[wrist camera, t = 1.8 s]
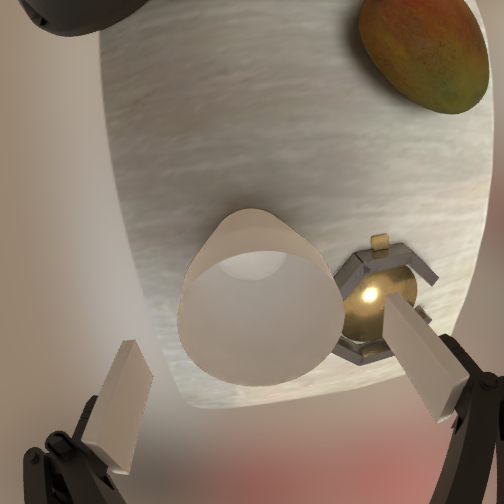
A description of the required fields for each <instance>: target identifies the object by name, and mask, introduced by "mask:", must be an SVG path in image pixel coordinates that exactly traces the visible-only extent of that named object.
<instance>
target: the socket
mask: <svg viewBox="0 0 504 504" xmlns="http://www.w3.org/2000/svg"><path fill="white" fill-rule="evenodd" d="M406 264H408V265H409V266H410V267H411V268H413V269H414V270H415V271H416V272H417V273H418V274H419V275H420V276H421V277H422V278H423V279H424V280H425V281H426V282H427V283H429V284H430V285H431V286H433V285H434V284H435V282H436V281H437V280H438V278H439V277H438V276H437V275H436V274H435V273H434V272H433V271H432V270H431V269H430V268H429V267H428V266H427V265H426V264H425V263H424V262H423V261H422V260H421V259H420V258H419V257H418V256H417V255H416V254H415V253H414V252H413V251H412V250H411V249H409V248H408V247H407V246H406V245H404V244H403V243H399V244H394V245H389V236H388V235H387V234H384V235H379V236H374V237H372V249H370V250H365V251H360V252H355V254H354V253H353V255H352V256H351V257H350V258H349V260H348V261H347V262H346V263H345V264H344V266H343V267H342V268H341V269H340V271H339V272H338V273H337V274H336V275H335V277H334V278H333V279H334V281H335V283H336V285H337V287H338V289H339V291H340V293H341V296H342V299H343V302H344V309H345V319H344V325H343V330H342V334H343V335H344V336H345V337H347V338H349V339H351V340H354V341H360V342H367V341H371V342H368V343H364V344H360V345H356V344H355V343H353V342H351V341H349V340H347V339H346V338H344V337H342V336H340V338H339V340H338V342H337V344H336V345H335V347H334V349H333V350H332V351H331V353H333V354H335V355H337V356H340V357H342V358H344V359H346V360H348V361H350V362H352V363H354V364H356V365H358V366H359V365H360V366H361V365H365V364H368V363H372V362H375V361H379V360H382V359H385V358H388V357H392V356H395V355H394V353H393V352H392V350H391V349H390V347H389V346H388V344H387V343H386V341H385V339H384V338H382V337H383V336H382V334H383V324H384V311H385V295H387V294H391V293H395V292H399V293H400V294H401V295H402V296H403V298H404V299H405V300H406V301H407V302H408V303H409V304H410V305H411V306H412V307H413V306H414V304H415V301H416V296H417V283H416V279H415V276H414V274H413V273H412V271H411V270H410V269H409V268H408V267H407V266H405V265H406ZM415 311H416V312H417V313H418V314H419V315H420V316H421V317H422V318H423V320H424V321H425V322H426V323H427V324H429V323H430V322H431V321H432V319H431V318H430V317H429V316H428V315H427V314H426V312H425V311H424V310H423V309H422V308H420V307H419V306H417V308H416V309H415ZM380 338H382V339H380ZM377 339H378V340H377ZM373 340H375V341H373Z"/></svg>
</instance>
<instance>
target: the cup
mask: <svg viewBox="0 0 504 504" xmlns="http://www.w3.org/2000/svg"><path fill="white" fill-rule="evenodd" d="M344 319H345V309H344V302H343V299H342V296H341V293H340V291H339V289H338V287H337V285H336V283H335V281H334V279H333V276H332V274H331V272H330V270H329V268H328V265H327V263H326V262H325V260H324V258H323V257H322V256H321V254H320V253H319V252H318V251H317V250H316V249H315V248H314V247H313V245H311V244H310V243H309V242H308V241H307V240H305V239H304V238H303V237H302V236H300V235H299V234H298V233H296V232H295V231H294V230H293V229H291V228H290V227H289V226H287V225H286V224H285V223H283V222H282V221H281V220H279V219H278V218H277V217H275V216H274V215H272V214H271V213H269V212H266V211H264V210H260V209H243V210H239V211H236V212H234V213H232V214H230V215H229V216H227V217H226V218H225V219H224V220H223V221H222V222H221V223H220V224H219V225H218V227H217V228H216V229H215V231H214V232H213V233H212V235H211V236H210V237H209V239H208V240H207V241H206V243H205V244H204V245H203V247H202V248H201V249H200V251H199V252H198V254H197V255H196V256H195V258H194V259H193V261H192V262H191V264H190V266H189V268H188V270H187V273H186V275H185V278H184V282H183V287H182V296H181V301H180V306H179V311H178V318H177V327H178V334H179V337H180V341H181V343H182V346H183V347H184V349H185V351H186V353H187V354H188V356H189V357H190V358H191V359H192V360H193V362H194V363H195V364H197V365H198V366H199V367H200V368H201V369H202V370H204V371H205V372H207V373H208V374H210V375H212V376H214V377H216V378H218V379H220V380H223V381H226V382H229V383H232V384H237V385H243V386H270V385H276V384H280V383H284V382H287V381H291V380H293V379H296V378H298V377H300V376H302V375H304V374H306V373H307V372H309V371H311V370H312V369H314V368H315V367H316V366H318V365H319V364H320V363H321V362H322V361H323V360H324V359H325V358H326V357H327V356H328V355H329V354H330V353H331V351H332V350H333V349H334V347H335V345H336V344H337V342H338V340H339V338H340V336H341V333H342V330H343V325H344Z"/></svg>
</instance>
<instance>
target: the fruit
mask: <svg viewBox="0 0 504 504" xmlns="http://www.w3.org/2000/svg"><path fill="white" fill-rule="evenodd" d="M359 31H360V35H361V38H362V41H363V44H364V47H365V49H366V51H367V53H368V55H369V56H370V58H371V60H372V61H373V62H374V64H375V65H376V66H377V68H378V69H379V70H380V72H381V73H382V74H383V75H384V76H385V77H386V79H387V80H388V81H389V82H390V83H391V84H392V85H393V86H394V87H395V88H396V89H397V90H398V91H400V92H401V93H402V94H403V95H405V96H406V97H407V98H409V99H410V100H412V101H413V102H415V103H417V104H419V105H421V106H423V107H425V108H427V109H430V110H432V111H435V112H438V113H444V114H460V113H463V112H465V111H468V110H469V109H471V108H472V107H474V106H475V105H476V104H477V103H479V101H480V100H481V99H482V97H483V96H484V94H485V93H486V90H487V87H488V83H489V61H488V54H487V48H486V45H485V41H484V38H483V35H482V32H481V30H480V27H479V25H478V22H477V20H476V18H475V16H474V14H473V13H472V11H471V10H470V8H469V6H468V5H467V4H466V2H465V1H464V0H365V1H364V4H363V6H362V9H361V12H360V15H359Z"/></svg>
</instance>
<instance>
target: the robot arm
mask: <svg viewBox="0 0 504 504" xmlns="http://www.w3.org/2000/svg"><path fill="white" fill-rule="evenodd" d="M18 1H19V3H20V4H21V6H22V7H23V8H24V10H25V12H26V13H27V15H28V16H29V17H30V19H31V20H32V22H33V23H34V24H35V25H37V26H38V27H39V28H41V29H43V30H46V31H48V32H50V33H52V34H55V35H58V36H65V37H73V36H81V35H85V34H89V33H93V32H96V31H98V30H101V29H103V28H106V27H108V26H110V25H112V24H114V23H116V22H118V21H120V20H121V19H123V18H125V17H126V16H128V15H129V14H131V13H132V12H134V11H135V10H137V9H138V8H139V7H141V6H142V5H143V4H144V3H145V2H147V1H148V0H18ZM382 336H383V338H384V339H385V341H386V343H387V344H388V346H389V347H390V349H391V350H392V352H393V353H394V355H395V356H396V358H397V360H398V361H399V363H400V364H401V366H402V367H403V369H404V371H405V372H406V374H407V375H408V377H409V378H410V380H411V382H412V384H413V385H414V387H415V388H416V390H417V392H418V393H419V395H420V397H421V398H422V400H423V402H424V403H425V405H426V407H427V409H428V410H429V412H430V413H431V415H432V417H433V419H434V421H435V422H436V423H439V422H441V421H443V420H446V419H447V418H449V417H451V415H452V413H453V411H454V409H455V410H456V412H457V414H458V415H457V417H456V419H455V421H454V423H453V425H452V427H451V428H454V430H453V434H452V438H451V441H450V445H449V449H448V452H447V455H446V459H445V462H444V465H443V468H442V471H441V474H440V477H439V480H438V483H437V485H436V488H435V491H434V493H433V496H432V499H431V501H430V503H429V504H482V500H483V497H484V493H485V489H486V486H487V482H488V477H489V474H490V469H491V465H492V459H493V454H494V448H495V442H496V453H497V503H496V504H504V376H501V377H497V376H496V375H495V374H494V373H491V372H483V371H482V370H481V369H480V368H479V367H478V365H477V364H476V363H475V362H474V361H473V360H472V358H471V357H470V356H469V355H468V354H467V353H466V352H465V350H464V349H463V348H462V347H460V344H459V343H458V342H457V341H456V340H455V339H454V338H453V337H451V336H449V335H447V334H443V335H440V336H437V334H436V333H435V332H434V331H433V330H432V329H431V328H430V326H429V325H428V324H427V323H426V322H425V321H424V320H423V318H422V317H421V316H420V315H419V314H418V313H417V312H416V311H415V310H414V308H413V307H412V306H411V305H410V304H409V303H408V302H407V301H406V300H405V299H404V298H403V296H402V295H401V294H400V293H399V292H395V293H391V294H387V295H385V311H384V324H383V334H382ZM152 380H153V375H152V373H151V371H150V369H149V367H148V365H147V363H146V361H145V359H144V357H143V355H142V353H141V351H140V349H139V347H138V345H137V342H136V340H127V341H123V342H122V344H121V346H120V348H119V350H118V352H117V355H116V357H115V359H114V361H113V363H112V366H111V368H110V370H109V372H108V375H107V377H106V379H105V381H104V384H103V386H102V388H101V391H100V393H99V395H98V396H95V395H93V396H92V397H91V398H90V399H89V401H88V402H87V403H86V405H85V408H84V410H83V413H82V414H81V417H80V418H81V419H79V422H78V424H77V427H76V429H75V432H74V434H73V436H72V439H71V438H70V437H69V436H68V434H67V433H65V432H63V431H55V432H53V433H52V434H50V435H49V436H48V438H47V439H46V442H45V448H46V449H47V450H48V451H49V452H50V453H44V452H43V451H42V450H41V449H40V448H38V447H33V448H30V449H29V450H28V451H27V452H26V453H25V455H24V459H23V481H24V501H25V504H126V502H125V501H124V499H123V497H122V496H121V494H120V493H119V491H118V489H117V488H116V486H115V484H114V483H113V481H112V479H111V478H110V476H109V475H108V474H107V473H106V472H107V468H108V467H109V468H110V469H111V470H112V471H113V472H114V473H121V474H129V472H130V467H131V463H132V458H133V454H134V450H135V446H136V441H137V437H138V433H139V429H140V425H141V421H142V417H143V413H144V409H145V406H146V402H147V398H148V394H149V391H150V387H151V384H152Z"/></svg>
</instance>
